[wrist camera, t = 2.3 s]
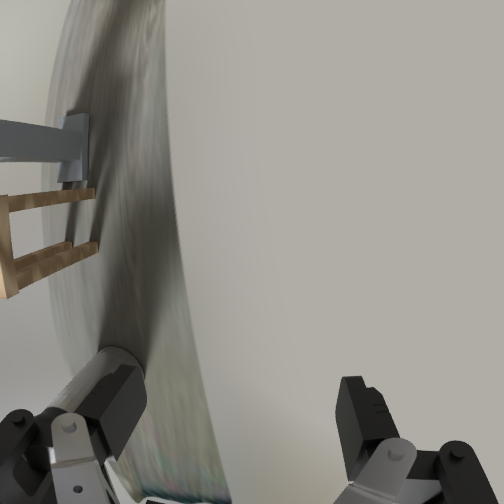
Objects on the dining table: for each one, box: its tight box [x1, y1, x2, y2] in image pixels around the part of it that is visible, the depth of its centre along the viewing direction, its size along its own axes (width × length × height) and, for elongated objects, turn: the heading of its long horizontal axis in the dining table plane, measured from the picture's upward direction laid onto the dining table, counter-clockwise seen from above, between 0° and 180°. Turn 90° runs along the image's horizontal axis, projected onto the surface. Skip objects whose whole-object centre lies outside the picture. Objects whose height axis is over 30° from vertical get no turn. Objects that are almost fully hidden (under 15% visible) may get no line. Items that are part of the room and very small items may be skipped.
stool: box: [0, 188, 98, 299], centre depth 32 cm, size 10×7×20 cm
